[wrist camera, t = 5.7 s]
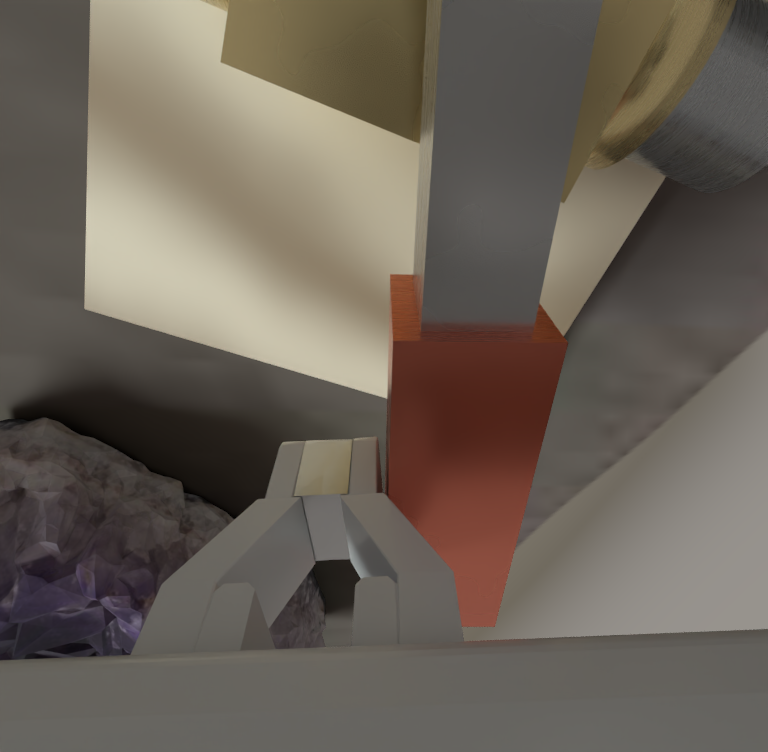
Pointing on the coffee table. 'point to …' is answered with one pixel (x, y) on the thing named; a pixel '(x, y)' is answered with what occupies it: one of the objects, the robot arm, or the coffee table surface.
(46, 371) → the coffee table surface
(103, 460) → the geode
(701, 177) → the valve body
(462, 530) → the valve lever
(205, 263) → the base board
